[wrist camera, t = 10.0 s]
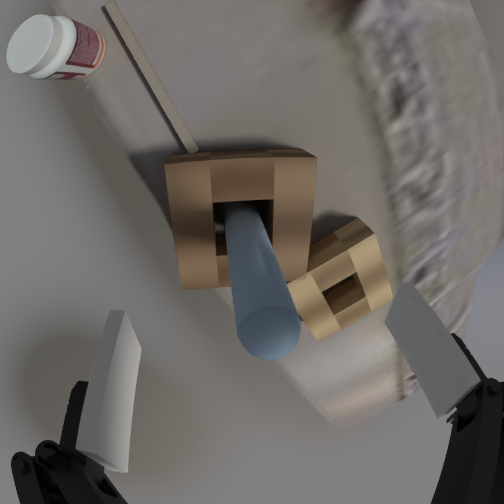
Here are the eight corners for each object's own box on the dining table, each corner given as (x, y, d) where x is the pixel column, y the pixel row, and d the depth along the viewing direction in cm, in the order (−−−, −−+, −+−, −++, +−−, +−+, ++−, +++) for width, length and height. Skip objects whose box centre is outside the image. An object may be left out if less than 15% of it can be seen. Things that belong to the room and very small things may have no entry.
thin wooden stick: (106, 6, 13) (104, 5, 12) (114, 1, 13) (112, 0, 12) (190, 154, 21) (190, 155, 21) (199, 149, 21) (198, 150, 21)
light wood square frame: (272, 266, 28) (280, 287, 25) (357, 217, 26) (374, 233, 23) (309, 321, 33) (318, 341, 30) (379, 281, 31) (393, 298, 28)
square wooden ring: (171, 155, 21) (164, 164, 18) (302, 149, 22) (317, 157, 19) (185, 267, 27) (183, 289, 24) (295, 259, 28) (305, 279, 25)
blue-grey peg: (223, 196, 24) (241, 332, 10) (257, 196, 24) (314, 326, 11) (223, 227, 25) (240, 375, 12) (256, 227, 25) (302, 368, 12)
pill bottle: (90, 20, 13) (42, -4, 6) (116, 52, 16) (70, 34, 8) (51, 58, 14) (-7, 53, 7) (75, 91, 16) (17, 94, 9)
